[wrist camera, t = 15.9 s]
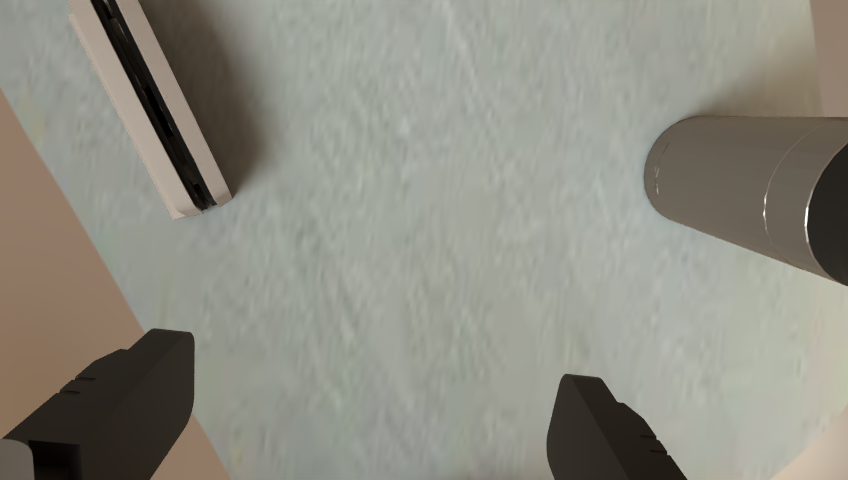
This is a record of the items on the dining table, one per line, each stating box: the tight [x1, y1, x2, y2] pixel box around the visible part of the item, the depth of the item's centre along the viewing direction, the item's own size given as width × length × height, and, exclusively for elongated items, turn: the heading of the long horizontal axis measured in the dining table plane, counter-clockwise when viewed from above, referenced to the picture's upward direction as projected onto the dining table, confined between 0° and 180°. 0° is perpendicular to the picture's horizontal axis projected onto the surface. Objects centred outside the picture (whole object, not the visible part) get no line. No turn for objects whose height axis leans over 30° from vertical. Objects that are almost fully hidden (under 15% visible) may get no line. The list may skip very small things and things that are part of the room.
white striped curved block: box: [67, 0, 232, 220], centre depth 35 cm, size 17×5×10 cm, turn 20°
